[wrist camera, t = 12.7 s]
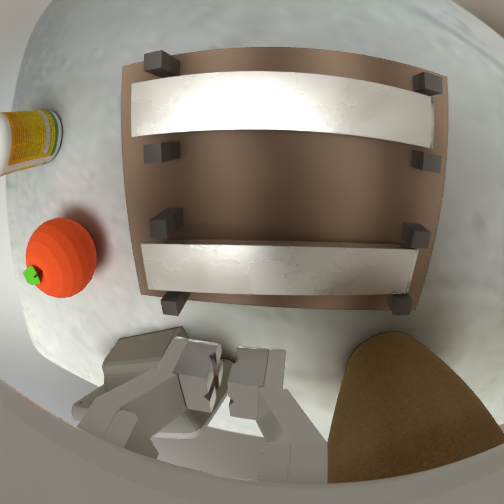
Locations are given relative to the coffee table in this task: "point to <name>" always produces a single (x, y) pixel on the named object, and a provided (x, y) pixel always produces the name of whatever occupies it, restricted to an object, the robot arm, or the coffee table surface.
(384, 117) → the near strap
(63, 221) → the clementine
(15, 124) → the supplement bottle
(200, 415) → the digital clock
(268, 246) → the strap
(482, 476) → the robot arm
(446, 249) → the coffee table surface
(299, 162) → the strap base
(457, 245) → the coffee table surface
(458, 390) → the plant pot
